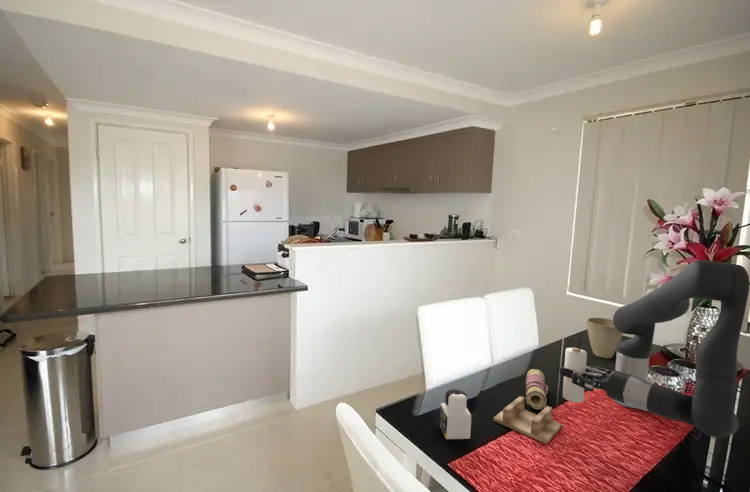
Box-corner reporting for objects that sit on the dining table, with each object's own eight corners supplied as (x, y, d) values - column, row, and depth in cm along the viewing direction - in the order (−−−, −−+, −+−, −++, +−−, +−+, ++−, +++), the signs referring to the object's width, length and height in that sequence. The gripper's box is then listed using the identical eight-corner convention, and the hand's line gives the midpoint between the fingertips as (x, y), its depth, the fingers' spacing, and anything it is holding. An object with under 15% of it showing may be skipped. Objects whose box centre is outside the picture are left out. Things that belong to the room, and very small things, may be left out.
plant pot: (577, 349, 181) (579, 317, 179) (605, 349, 183) (608, 317, 181) (598, 362, 166) (601, 326, 165) (629, 361, 168) (632, 326, 166)
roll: (565, 391, 113) (569, 344, 112) (585, 397, 110) (589, 349, 108) (560, 397, 109) (563, 348, 108) (580, 404, 106) (584, 353, 104)
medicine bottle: (439, 425, 113) (441, 386, 112) (462, 425, 113) (464, 386, 112) (445, 439, 106) (447, 398, 104) (470, 439, 106) (472, 398, 105)
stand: (510, 407, 125) (511, 392, 124) (561, 427, 114) (562, 411, 113) (493, 420, 116) (494, 405, 116) (546, 443, 105) (548, 426, 104)
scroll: (553, 410, 120) (552, 385, 138) (543, 388, 121) (544, 366, 139) (529, 415, 123) (531, 389, 141) (520, 393, 124) (523, 370, 142)
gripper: (642, 370, 101) (578, 350, 115) (621, 383, 93) (553, 360, 106) (640, 396, 102) (576, 374, 115) (618, 412, 93) (552, 386, 107)
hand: (565, 368), depth 111 cm, fingers closed on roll, 5 cm apart
